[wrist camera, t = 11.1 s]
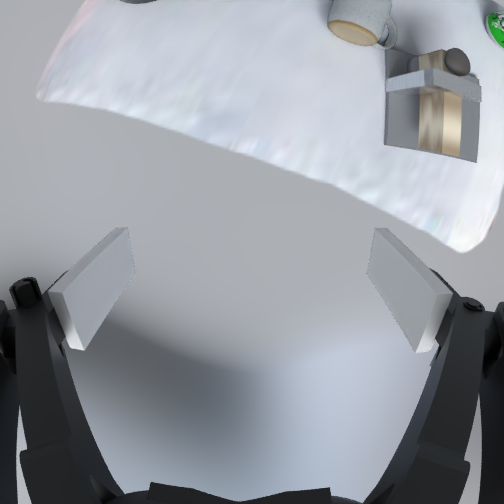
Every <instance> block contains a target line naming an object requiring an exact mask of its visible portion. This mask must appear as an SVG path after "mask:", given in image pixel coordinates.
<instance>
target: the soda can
mask: <svg viewBox="0 0 504 504" xmlns="http://www.w3.org/2000/svg"><path fill="white" fill-rule="evenodd" d="M485 27H486V30H487V33H488V35H489V36H490V38H491V39H492V41H493V42H494V43H495V44H497V45H498V46H499V47H500V48H502V49H504V10H503V11H499V12H496V13H492V14H489V15H487V17H486V22H485Z"/></svg>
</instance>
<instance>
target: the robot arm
mask: <svg viewBox="0 0 504 504" xmlns="http://www.w3.org/2000/svg"><path fill="white" fill-rule="evenodd" d="M120 1H123V2H126V3H132V4H140V3H148V2H152V1H156V0H120ZM135 273H136V271H135V265H134V260H133V255H132V249H131V244H130V237H129V231H128V227H127V228H115V229H114V230H113V231H112V232H110V233H109V234H108V235H107V236H106V237H105V238H104V239H103V240H101V241H100V242H99V243H98V244H97V245H96V246H95V247H93V248H92V249H91V250H90V251H89V252H88V253H87V254H86V255H85V256H84V257H82V258H81V259H80V260H79V261H78V262H77V263H76V264H75V265H74V266H73V267H72V268H71V269H70V270H68V271H66V272H65V273H63V274H62V275H61V276H60V278H59V279H57V280H56V281H55V282H54V284H52V285H51V287H49V288H48V289H47V290H46V291H45V292H44V293H43V295H41V292H40V289H39V286H38V283H37V280H36V278H33V277H27V278H23V279H21V280H18V281H17V282H15V283H14V284H13V285H12V286H11V287H10V289H9V291H10V294H11V296H12V299H13V301H14V304H15V306H16V309H13V310H8V309H7V307H6V304H5V302H4V301H2V300H0V351H1V352H0V504H18V497H17V477H16V446H17V427H18V415H19V406H20V409H21V416H22V422H23V428H24V433H25V438H26V443H27V450H23V451H21V452H20V464H21V468H22V472H23V476H24V479H25V483H26V487H27V490H28V493H29V496H30V499H31V503H32V504H458V503H459V501H460V498H461V495H462V493H463V490H464V487H465V484H466V481H467V478H468V475H469V471H470V463H469V462H468V461H465V460H464V456H465V452H466V449H467V445H468V442H469V438H470V433H471V429H472V425H473V421H474V416H475V411H476V406H477V400H478V394H479V397H480V409H481V426H482V463H481V464H482V465H481V481H480V492H479V501H478V504H504V302H500V303H499V304H498V306H497V308H496V311H495V312H490V311H485V308H484V306H483V305H482V304H481V303H480V302H479V301H477V300H475V299H473V298H469V297H460V296H459V294H458V293H457V292H456V291H455V290H454V289H453V288H452V287H451V286H450V285H448V283H447V282H446V281H445V280H444V279H443V278H442V277H441V276H440V275H439V274H438V273H437V272H435V271H434V270H432V269H430V268H428V267H427V266H426V265H425V264H424V263H423V262H422V261H421V260H420V259H419V258H418V257H417V256H416V255H415V254H414V253H413V252H412V251H411V250H410V249H409V248H408V247H406V245H404V244H403V243H402V242H401V241H400V240H399V239H398V238H397V237H396V236H395V235H393V233H391V232H390V231H389V230H388V229H387V228H374V234H373V240H372V246H371V253H370V258H369V263H368V269H367V275H368V276H369V278H370V279H371V281H372V283H373V284H374V286H375V287H376V289H377V290H378V292H379V294H380V295H381V297H382V298H383V300H384V301H385V303H386V305H387V306H388V308H389V310H390V311H391V313H392V314H393V316H394V318H395V320H396V321H397V323H398V324H399V326H400V328H401V330H402V331H403V333H404V335H405V336H406V338H407V340H408V341H409V343H410V345H411V347H412V349H413V350H414V352H415V353H420V352H426V351H430V350H431V348H432V345H433V343H434V341H435V339H436V341H437V342H438V344H439V347H438V349H437V352H436V354H435V356H434V358H433V360H432V362H431V364H430V366H432V367H431V370H430V373H429V376H428V378H427V381H426V384H425V387H424V389H423V392H422V395H421V397H420V400H419V402H418V405H417V407H416V410H415V412H414V414H413V416H412V419H411V421H410V423H409V425H408V428H407V430H406V432H405V434H404V436H403V438H402V440H401V442H400V444H399V446H398V448H397V450H396V452H395V454H394V456H393V458H392V460H391V461H390V463H389V465H388V467H387V469H386V470H385V472H384V474H383V476H382V477H381V479H380V481H379V482H378V484H377V485H376V487H375V488H374V489H373V491H372V492H371V493H370V494H369V496H368V497H367V498H366V500H365V501H364V502H363V503H360V502H357V501H355V500H351V499H348V498H343V497H338V496H331V492H330V487H329V488H320V489H311V490H300V491H287V492H282V493H278V494H274V495H270V496H266V497H262V498H257V499H253V500H247V501H241V502H238V501H232V500H228V499H224V498H221V497H217V496H214V495H211V494H207V493H205V492H201V491H198V490H196V489H193V488H185V487H178V486H170V485H165V484H159V483H154V482H151V483H150V488H149V490H146V491H138V492H132V493H127V494H124V492H123V491H122V490H121V488H120V487H119V486H118V484H117V483H116V482H115V480H114V479H113V477H112V475H111V473H110V471H109V470H108V467H107V465H106V463H105V461H104V459H103V457H102V455H101V453H100V450H99V448H98V446H97V444H96V441H95V439H94V437H93V435H92V432H91V430H90V427H89V425H88V422H87V420H86V417H85V414H84V412H83V409H82V406H81V403H80V400H79V397H78V395H77V392H76V388H75V385H74V382H73V379H72V376H71V372H70V369H69V365H68V361H67V358H66V354H65V350H64V348H63V346H62V343H61V342H62V341H63V339H64V338H65V337H66V339H67V341H68V344H69V346H70V348H74V349H79V350H85V349H86V347H87V346H88V344H89V342H90V341H91V339H92V338H93V336H94V334H95V333H96V331H97V330H98V328H99V326H100V325H101V323H102V322H103V320H104V319H105V317H106V316H107V314H108V313H109V311H110V310H111V308H112V307H113V305H114V304H115V302H116V301H117V299H118V298H119V296H120V295H121V293H122V292H123V291H124V289H125V288H126V286H127V285H128V283H129V282H130V280H131V279H132V278H133V276H134V275H135Z"/></svg>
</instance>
